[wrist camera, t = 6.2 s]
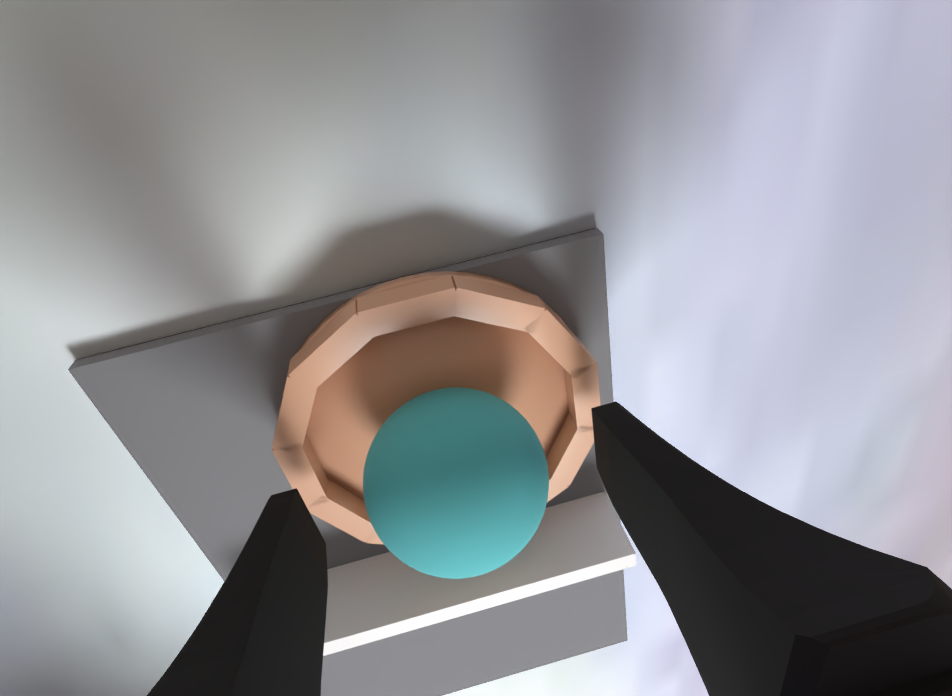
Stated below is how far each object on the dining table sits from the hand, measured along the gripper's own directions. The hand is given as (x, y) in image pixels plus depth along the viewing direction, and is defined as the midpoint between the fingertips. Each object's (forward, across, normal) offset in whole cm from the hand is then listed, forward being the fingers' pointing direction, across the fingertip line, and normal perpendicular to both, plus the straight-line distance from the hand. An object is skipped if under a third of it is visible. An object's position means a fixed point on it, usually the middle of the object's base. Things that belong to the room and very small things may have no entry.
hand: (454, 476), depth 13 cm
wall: (+3, +2, +6) cm, 6 cm away
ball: (+2, 0, 0) cm, 2 cm away
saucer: (+3, 0, 0) cm, 3 cm away
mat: (+3, +2, +6) cm, 6 cm away
